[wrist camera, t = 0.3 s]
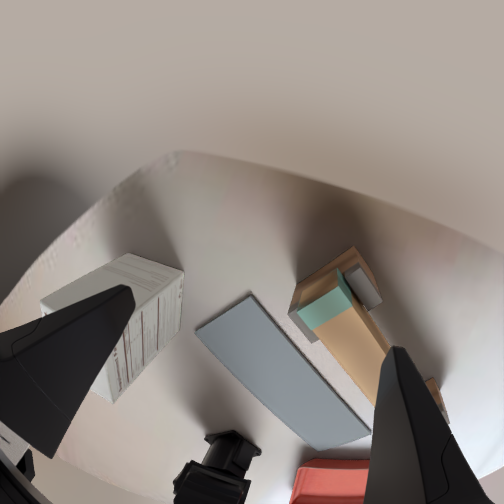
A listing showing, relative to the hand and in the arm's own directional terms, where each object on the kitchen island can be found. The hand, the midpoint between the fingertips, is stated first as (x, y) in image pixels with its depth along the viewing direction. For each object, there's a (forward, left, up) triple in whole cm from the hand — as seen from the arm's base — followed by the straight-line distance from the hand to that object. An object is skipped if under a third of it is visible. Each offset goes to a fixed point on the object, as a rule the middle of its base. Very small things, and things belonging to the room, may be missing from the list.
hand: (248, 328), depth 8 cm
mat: (-11, -14, -15) cm, 24 cm away
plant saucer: (-16, -38, -16) cm, 45 cm away
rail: (0, -14, -11) cm, 18 cm away
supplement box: (-16, +4, -15) cm, 23 cm away
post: (0, -5, -15) cm, 16 cm away
